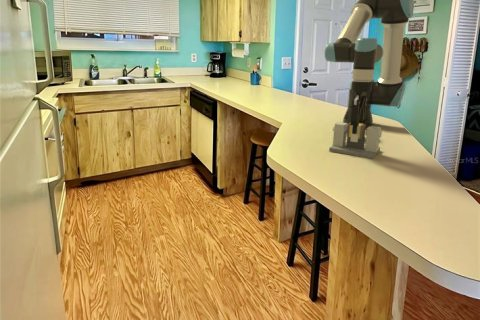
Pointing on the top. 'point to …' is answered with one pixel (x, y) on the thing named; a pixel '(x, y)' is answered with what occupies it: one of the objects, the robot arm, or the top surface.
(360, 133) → the box
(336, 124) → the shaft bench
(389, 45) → the robot arm
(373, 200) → the top surface
